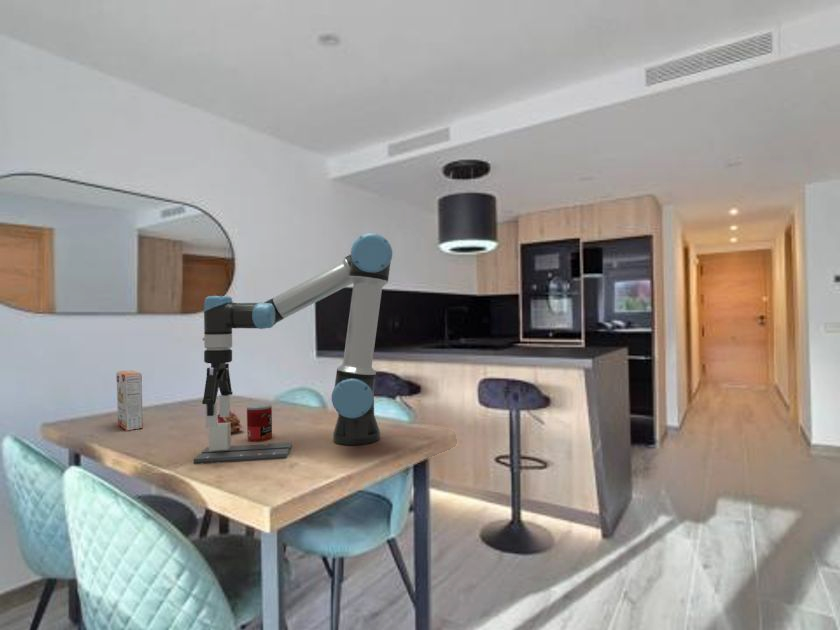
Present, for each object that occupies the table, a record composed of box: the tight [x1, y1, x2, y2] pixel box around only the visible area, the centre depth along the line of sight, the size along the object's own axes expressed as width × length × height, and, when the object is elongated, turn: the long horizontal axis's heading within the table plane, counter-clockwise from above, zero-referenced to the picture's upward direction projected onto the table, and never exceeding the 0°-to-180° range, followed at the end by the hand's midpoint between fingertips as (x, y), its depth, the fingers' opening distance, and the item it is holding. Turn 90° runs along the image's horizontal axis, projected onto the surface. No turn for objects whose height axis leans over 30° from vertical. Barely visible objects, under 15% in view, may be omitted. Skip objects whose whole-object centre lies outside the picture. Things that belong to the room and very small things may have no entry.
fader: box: [208, 422, 232, 453], centre depth 138 cm, size 5×4×8 cm
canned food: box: [246, 403, 273, 442], centre depth 158 cm, size 8×8×11 cm
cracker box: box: [116, 370, 144, 432], centre depth 179 cm, size 14×6×21 cm, turn 43°
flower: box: [217, 410, 244, 433], centre depth 167 cm, size 10×9×8 cm
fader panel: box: [193, 442, 293, 465], centre depth 139 cm, size 25×12×1 cm, turn 98°
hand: (218, 421), depth 138 cm, fingers open, 13 cm apart
